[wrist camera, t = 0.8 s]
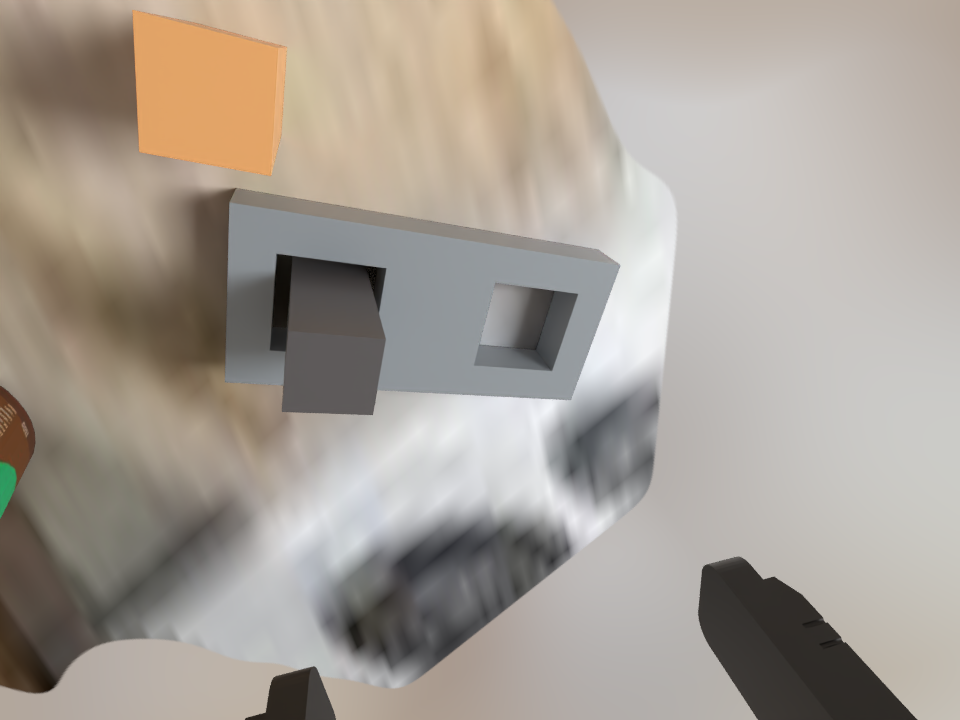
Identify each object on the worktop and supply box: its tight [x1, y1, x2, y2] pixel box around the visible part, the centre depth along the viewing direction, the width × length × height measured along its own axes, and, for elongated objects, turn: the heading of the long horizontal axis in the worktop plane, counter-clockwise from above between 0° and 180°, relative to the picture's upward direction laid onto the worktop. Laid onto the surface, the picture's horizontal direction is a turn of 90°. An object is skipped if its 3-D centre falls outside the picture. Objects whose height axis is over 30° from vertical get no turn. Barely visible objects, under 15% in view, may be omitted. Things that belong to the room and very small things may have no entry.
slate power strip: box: [225, 188, 620, 415], centre depth 29 cm, size 22×10×10 cm, turn 76°
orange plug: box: [132, 10, 287, 176], centre depth 21 cm, size 4×4×10 cm
